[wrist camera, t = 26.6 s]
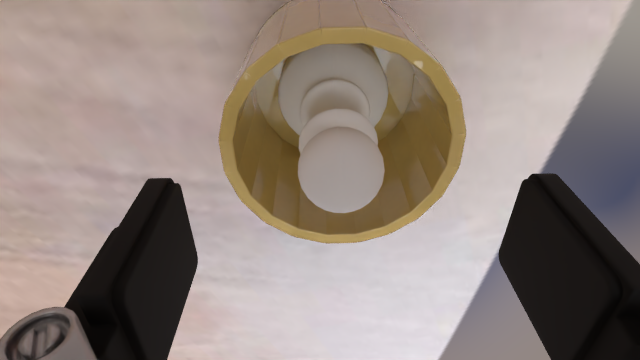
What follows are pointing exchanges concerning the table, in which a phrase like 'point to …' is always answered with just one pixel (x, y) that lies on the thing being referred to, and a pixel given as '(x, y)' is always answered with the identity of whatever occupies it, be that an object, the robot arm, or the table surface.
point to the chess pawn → (336, 122)
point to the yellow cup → (392, 130)
